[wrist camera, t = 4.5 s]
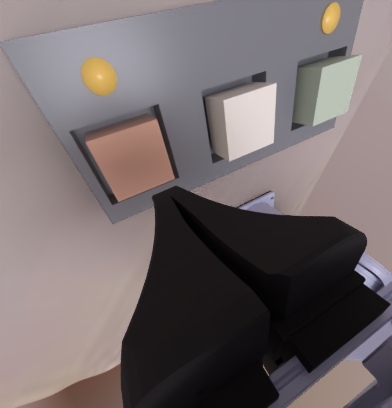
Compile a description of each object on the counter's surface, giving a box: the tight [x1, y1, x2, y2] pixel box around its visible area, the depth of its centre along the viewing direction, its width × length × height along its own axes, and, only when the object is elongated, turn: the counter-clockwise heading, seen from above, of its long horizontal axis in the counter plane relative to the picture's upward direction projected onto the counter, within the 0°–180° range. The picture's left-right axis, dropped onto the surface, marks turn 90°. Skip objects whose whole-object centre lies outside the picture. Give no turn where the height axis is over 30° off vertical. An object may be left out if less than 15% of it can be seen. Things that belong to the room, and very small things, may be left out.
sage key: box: [292, 55, 362, 127], centre depth 20 cm, size 5×5×3 cm
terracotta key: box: [85, 113, 175, 202], centre depth 16 cm, size 5×5×3 cm
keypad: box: [0, 0, 363, 224], centre depth 18 cm, size 13×28×3 cm, turn 102°
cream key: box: [205, 82, 277, 162], centre depth 18 cm, size 5×5×3 cm
